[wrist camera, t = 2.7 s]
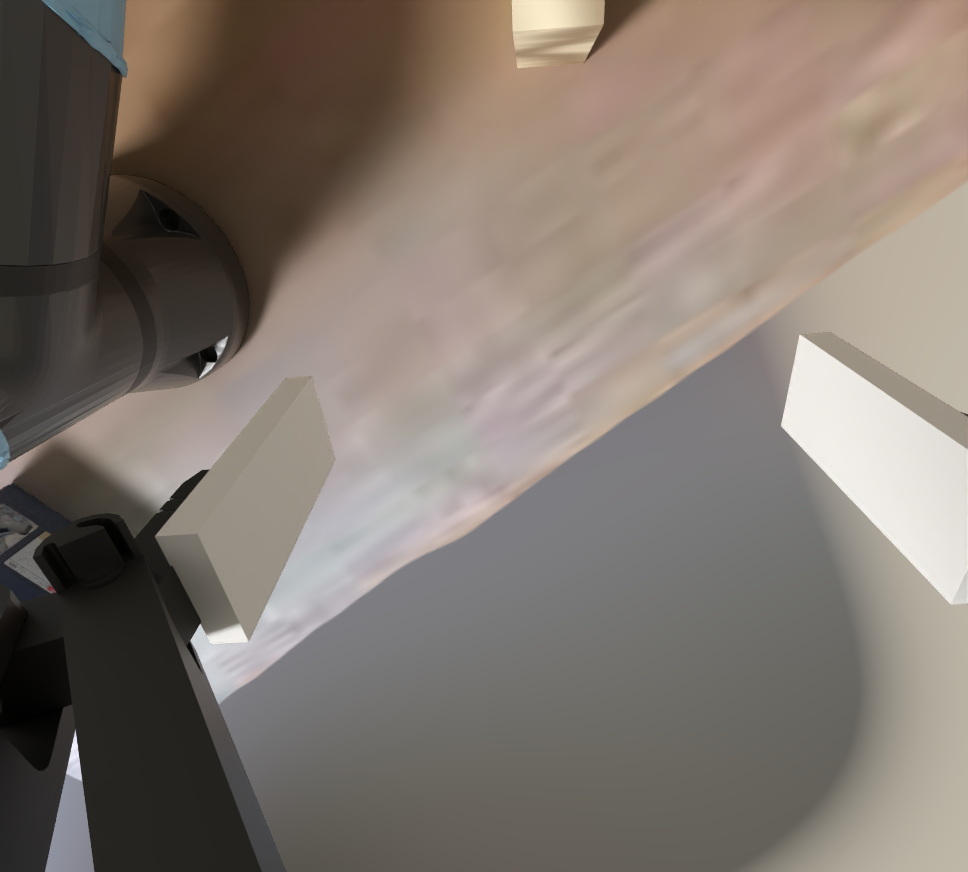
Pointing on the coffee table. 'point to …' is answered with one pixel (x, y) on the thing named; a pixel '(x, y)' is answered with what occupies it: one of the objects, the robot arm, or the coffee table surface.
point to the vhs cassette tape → (24, 541)
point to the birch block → (555, 30)
